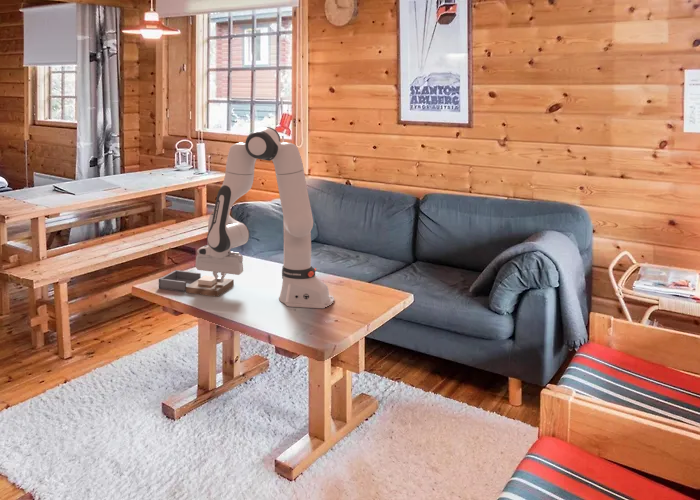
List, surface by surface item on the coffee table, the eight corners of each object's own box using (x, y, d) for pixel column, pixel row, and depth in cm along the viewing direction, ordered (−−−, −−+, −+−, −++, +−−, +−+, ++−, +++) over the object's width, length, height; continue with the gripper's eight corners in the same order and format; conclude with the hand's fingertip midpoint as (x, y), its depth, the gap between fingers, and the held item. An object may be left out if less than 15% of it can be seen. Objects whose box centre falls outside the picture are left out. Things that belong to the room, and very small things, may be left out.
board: (233, 285, 275) (233, 279, 274) (217, 296, 260) (217, 290, 259) (203, 281, 278) (203, 275, 278) (185, 292, 263) (185, 286, 263)
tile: (217, 281, 271) (217, 277, 270) (211, 285, 265) (211, 281, 265) (204, 280, 272) (204, 275, 272) (198, 284, 267) (198, 279, 266)
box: (200, 281, 278) (200, 273, 277) (184, 291, 265) (184, 282, 263) (175, 278, 280) (175, 270, 279) (158, 288, 267) (158, 279, 266)
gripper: (245, 251, 264) (245, 282, 268) (200, 245, 269) (201, 277, 273) (239, 254, 258) (239, 287, 262) (193, 249, 263) (194, 281, 267)
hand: (219, 282), depth 267 cm, fingers closed
